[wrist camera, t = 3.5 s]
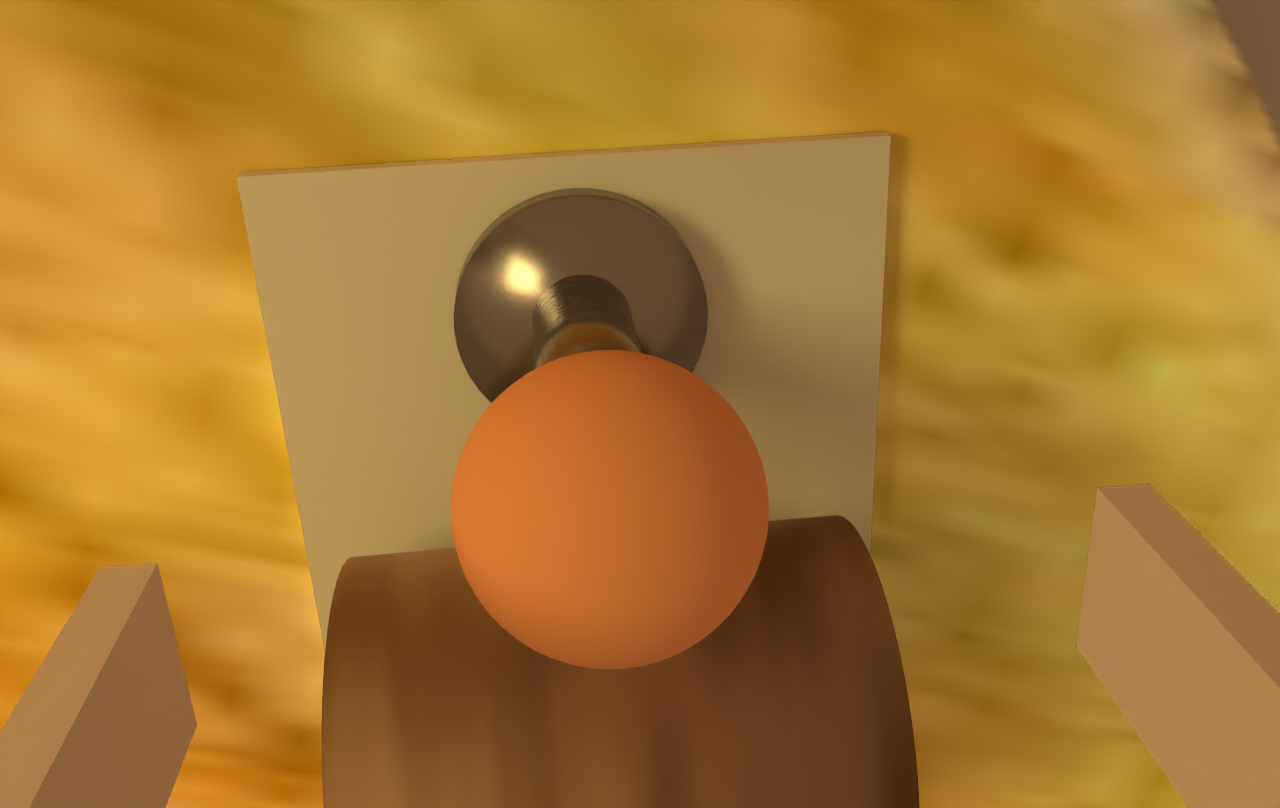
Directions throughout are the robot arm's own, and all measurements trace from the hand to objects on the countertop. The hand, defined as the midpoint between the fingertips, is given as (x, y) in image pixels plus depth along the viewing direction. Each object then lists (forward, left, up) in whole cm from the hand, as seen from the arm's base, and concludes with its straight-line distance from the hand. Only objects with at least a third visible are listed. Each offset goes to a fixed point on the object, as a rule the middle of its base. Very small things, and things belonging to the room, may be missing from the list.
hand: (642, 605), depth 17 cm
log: (0, -8, -12) cm, 14 cm away
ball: (0, 0, -5) cm, 5 cm away
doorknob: (0, 0, -11) cm, 11 cm away
